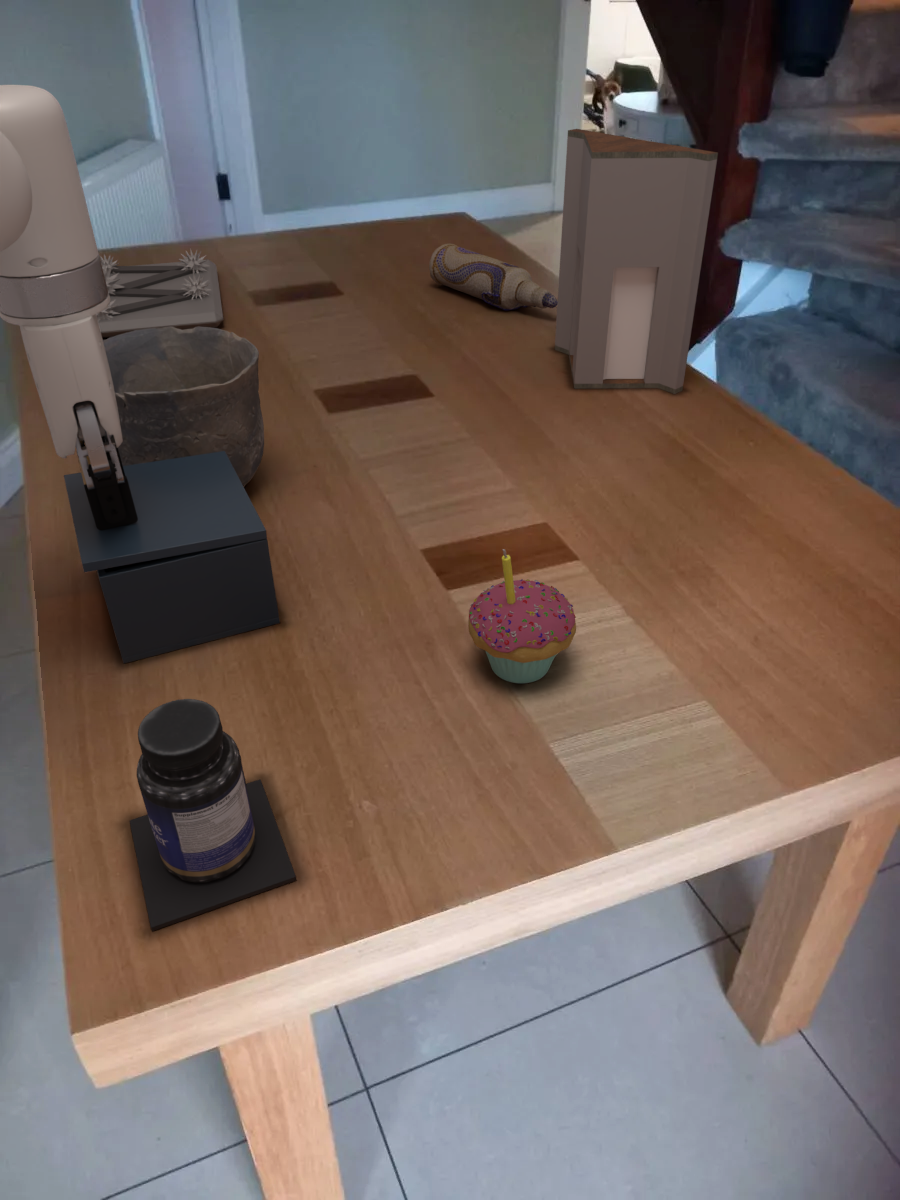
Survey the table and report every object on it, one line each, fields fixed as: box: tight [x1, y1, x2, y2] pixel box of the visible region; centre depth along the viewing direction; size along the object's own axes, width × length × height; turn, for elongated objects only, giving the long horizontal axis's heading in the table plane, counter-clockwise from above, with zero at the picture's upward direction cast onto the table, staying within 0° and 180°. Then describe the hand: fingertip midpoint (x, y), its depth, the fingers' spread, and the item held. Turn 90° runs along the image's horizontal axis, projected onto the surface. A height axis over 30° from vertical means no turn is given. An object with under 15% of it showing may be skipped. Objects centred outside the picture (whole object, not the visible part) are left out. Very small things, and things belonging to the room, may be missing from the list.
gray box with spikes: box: [96, 247, 224, 339], centre depth 145 cm, size 30×22×7 cm
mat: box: [128, 779, 297, 932], centre depth 60 cm, size 9×9×1 cm
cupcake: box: [467, 548, 577, 684], centre depth 71 cm, size 9×8×12 cm
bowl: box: [103, 326, 265, 488], centre depth 94 cm, size 18×18×15 cm
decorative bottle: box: [428, 243, 558, 311], centre depth 144 cm, size 26×8×7 cm, turn 40°
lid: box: [63, 451, 268, 573], centre depth 76 cm, size 14×15×5 cm
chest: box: [96, 538, 281, 664], centre depth 81 cm, size 13×15×9 cm
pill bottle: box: [136, 698, 255, 883], centre depth 57 cm, size 6×6×11 cm
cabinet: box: [554, 128, 719, 395], centre depth 114 cm, size 21×10×28 cm, turn 42°
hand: (112, 505), depth 76 cm, fingers closed on lid, 5 cm apart
